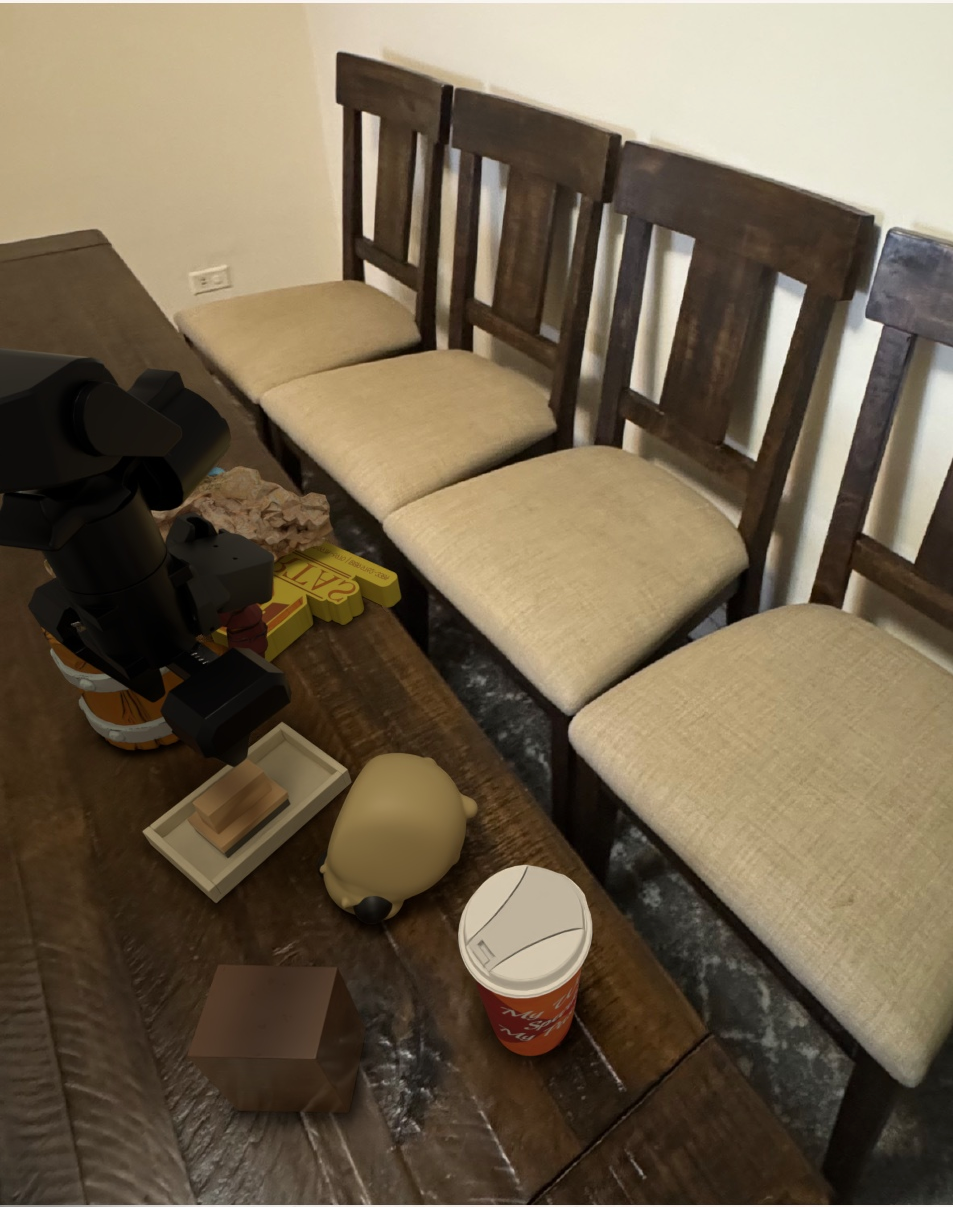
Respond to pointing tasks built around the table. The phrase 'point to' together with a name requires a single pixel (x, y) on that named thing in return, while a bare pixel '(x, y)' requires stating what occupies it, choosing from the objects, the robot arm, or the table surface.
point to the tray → (309, 791)
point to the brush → (238, 807)
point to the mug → (129, 713)
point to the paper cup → (527, 954)
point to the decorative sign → (319, 593)
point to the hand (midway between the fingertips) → (197, 728)
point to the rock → (254, 512)
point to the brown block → (280, 1038)
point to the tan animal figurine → (394, 835)
